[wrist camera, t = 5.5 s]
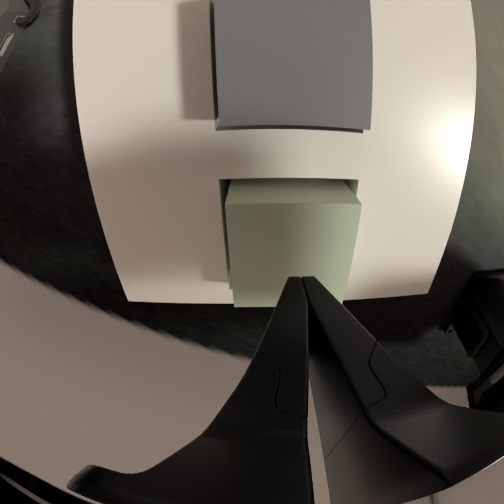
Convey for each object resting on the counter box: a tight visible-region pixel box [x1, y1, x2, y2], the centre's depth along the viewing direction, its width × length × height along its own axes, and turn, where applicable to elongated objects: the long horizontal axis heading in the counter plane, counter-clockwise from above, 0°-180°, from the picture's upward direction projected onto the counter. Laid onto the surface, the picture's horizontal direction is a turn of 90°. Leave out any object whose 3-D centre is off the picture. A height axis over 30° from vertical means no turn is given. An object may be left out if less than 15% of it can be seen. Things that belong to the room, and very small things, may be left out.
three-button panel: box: [73, 0, 476, 304], centre depth 9 cm, size 16×21×3 cm
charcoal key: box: [214, 0, 373, 130], centre depth 8 cm, size 4×4×4 cm
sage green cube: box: [225, 178, 362, 307], centre depth 11 cm, size 4×4×4 cm
